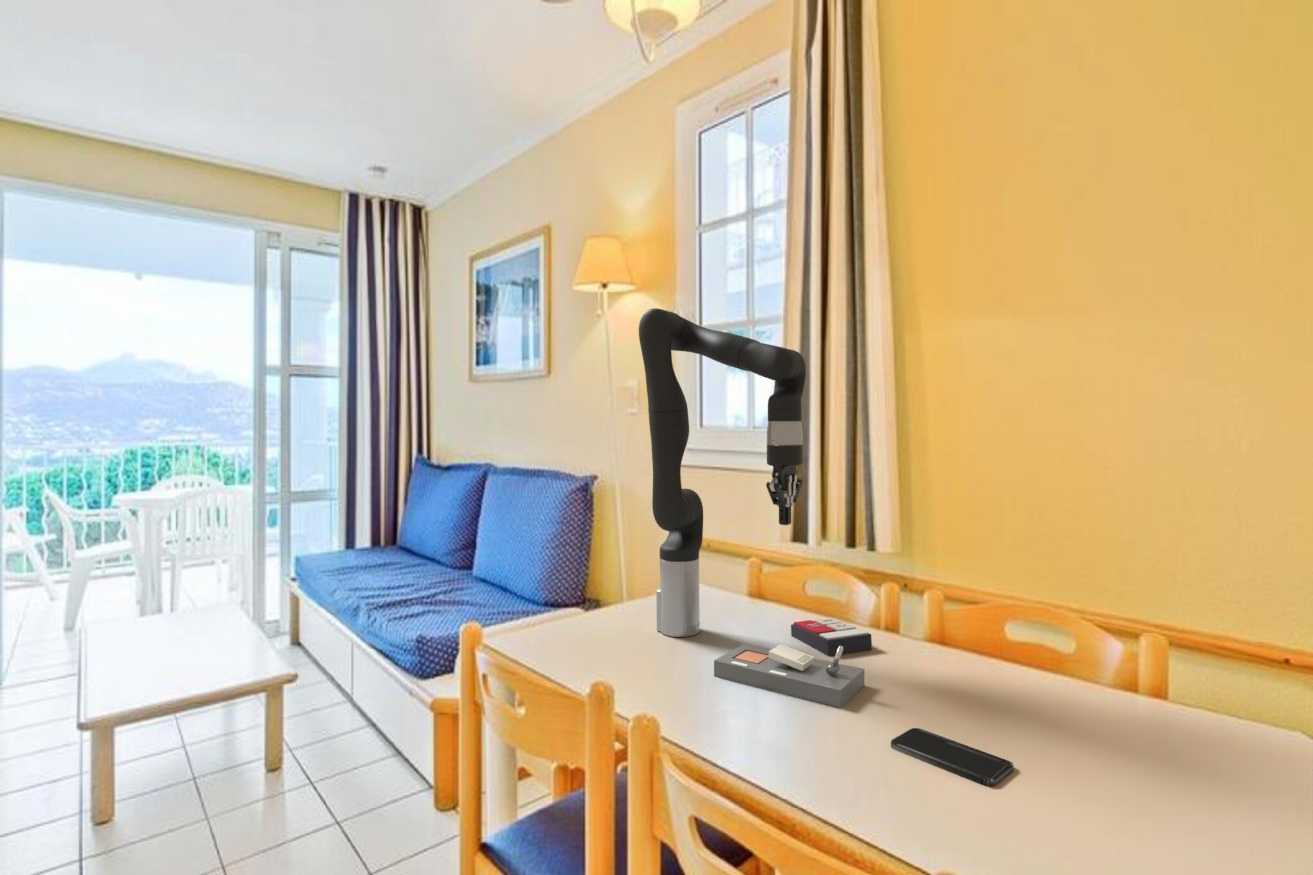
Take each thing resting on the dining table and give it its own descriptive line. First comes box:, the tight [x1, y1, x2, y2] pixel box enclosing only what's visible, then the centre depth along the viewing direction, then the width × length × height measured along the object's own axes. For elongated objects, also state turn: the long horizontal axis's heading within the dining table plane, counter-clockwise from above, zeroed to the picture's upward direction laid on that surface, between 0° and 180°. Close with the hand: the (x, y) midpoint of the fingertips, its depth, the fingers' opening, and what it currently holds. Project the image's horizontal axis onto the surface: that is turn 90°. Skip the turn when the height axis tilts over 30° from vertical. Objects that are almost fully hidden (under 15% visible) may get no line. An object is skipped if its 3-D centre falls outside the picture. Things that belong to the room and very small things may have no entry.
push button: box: [734, 651, 768, 664], centre depth 129 cm, size 5×5×3 cm
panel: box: [713, 643, 865, 709], centre depth 124 cm, size 25×12×4 cm, turn 53°
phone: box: [890, 727, 1014, 788], centre depth 95 cm, size 8×1×15 cm
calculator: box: [790, 617, 873, 657], centre depth 146 cm, size 11×4×15 cm
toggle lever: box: [826, 646, 843, 676], centre depth 119 cm, size 2×2×6 cm
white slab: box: [768, 643, 815, 671], centre depth 124 cm, size 7×5×1 cm
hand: (785, 524), depth 140 cm, fingers closed
